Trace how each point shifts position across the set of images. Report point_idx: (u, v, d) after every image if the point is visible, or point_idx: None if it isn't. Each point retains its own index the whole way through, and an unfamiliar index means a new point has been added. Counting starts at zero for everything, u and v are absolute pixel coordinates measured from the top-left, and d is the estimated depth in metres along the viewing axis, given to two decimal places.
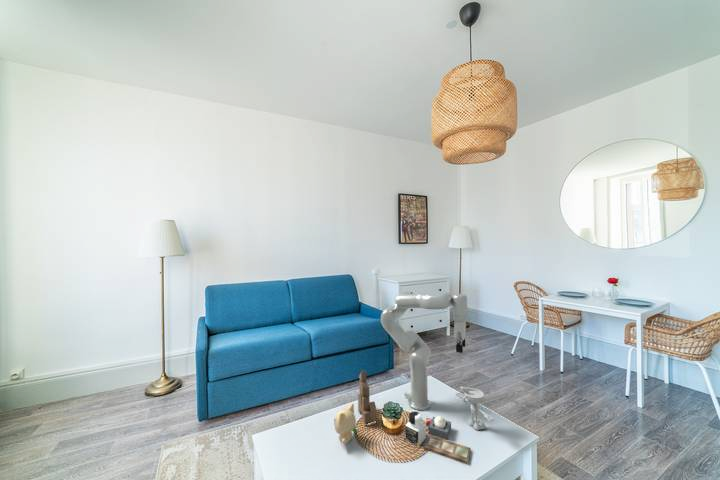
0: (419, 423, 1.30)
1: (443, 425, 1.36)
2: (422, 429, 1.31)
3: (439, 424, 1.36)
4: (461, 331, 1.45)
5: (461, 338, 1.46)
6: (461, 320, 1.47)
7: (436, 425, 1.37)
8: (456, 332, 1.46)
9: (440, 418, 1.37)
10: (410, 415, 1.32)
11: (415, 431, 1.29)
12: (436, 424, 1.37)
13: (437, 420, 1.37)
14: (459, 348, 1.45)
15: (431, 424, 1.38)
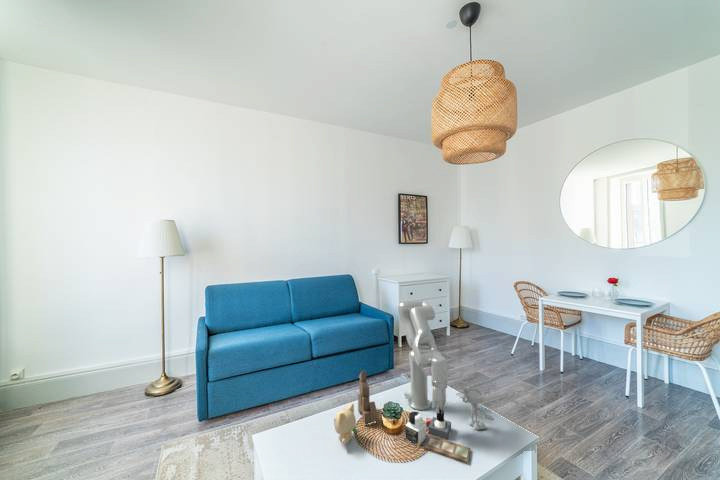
0: (419, 423, 1.30)
1: (443, 428, 1.36)
2: (422, 429, 1.31)
3: (439, 427, 1.36)
4: (440, 400, 1.33)
5: (441, 407, 1.35)
6: (440, 387, 1.35)
7: None
8: (434, 400, 1.34)
9: (440, 421, 1.37)
10: (410, 415, 1.32)
11: (415, 431, 1.29)
12: None
13: (437, 423, 1.37)
14: (440, 417, 1.36)
15: (431, 424, 1.38)
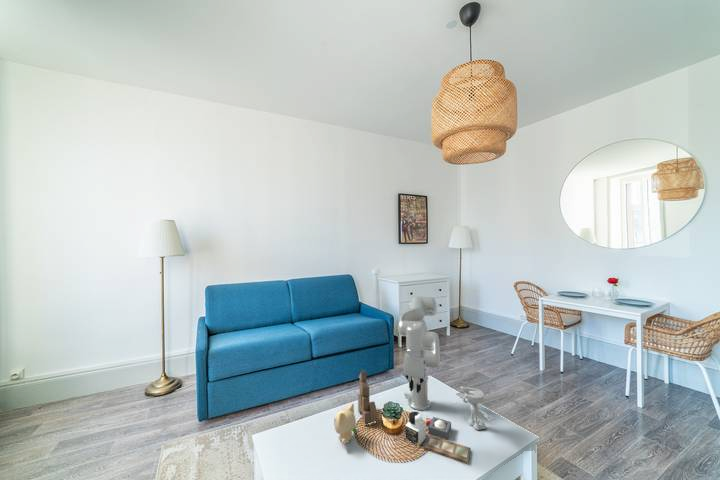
0: (419, 423, 1.30)
1: None
2: (422, 429, 1.31)
3: None
4: (404, 363, 1.35)
5: None
6: (406, 353, 1.34)
7: None
8: None
9: (440, 422, 1.37)
10: (410, 415, 1.32)
11: (415, 431, 1.29)
12: None
13: (437, 424, 1.37)
14: None
15: (431, 424, 1.38)
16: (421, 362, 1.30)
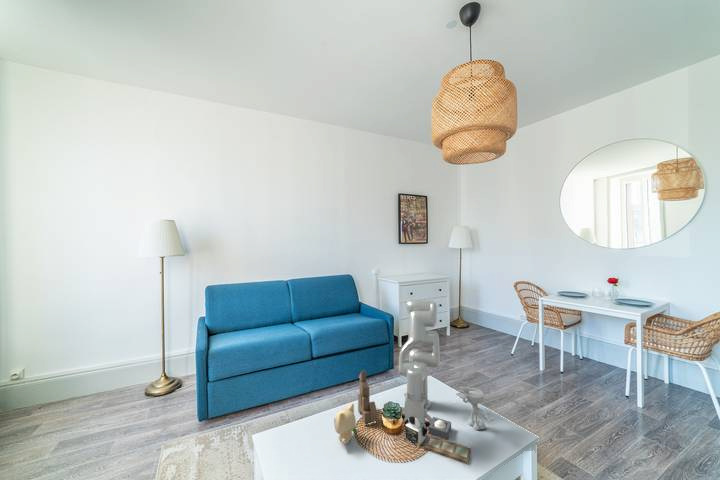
0: (419, 423, 1.30)
1: None
2: (422, 429, 1.31)
3: None
4: None
5: None
6: (407, 395, 1.34)
7: None
8: None
9: (440, 422, 1.37)
10: None
11: (415, 431, 1.29)
12: None
13: (437, 424, 1.37)
14: None
15: (431, 424, 1.38)
16: (422, 406, 1.29)
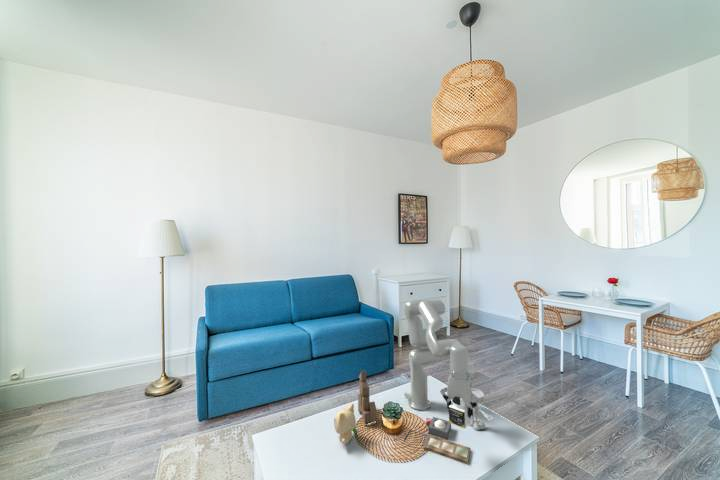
0: (464, 403, 1.21)
1: None
2: (468, 410, 1.21)
3: None
4: None
5: None
6: (450, 374, 1.24)
7: None
8: None
9: (440, 422, 1.37)
10: None
11: (461, 412, 1.19)
12: None
13: (437, 424, 1.37)
14: None
15: (431, 424, 1.38)
16: (468, 385, 1.20)
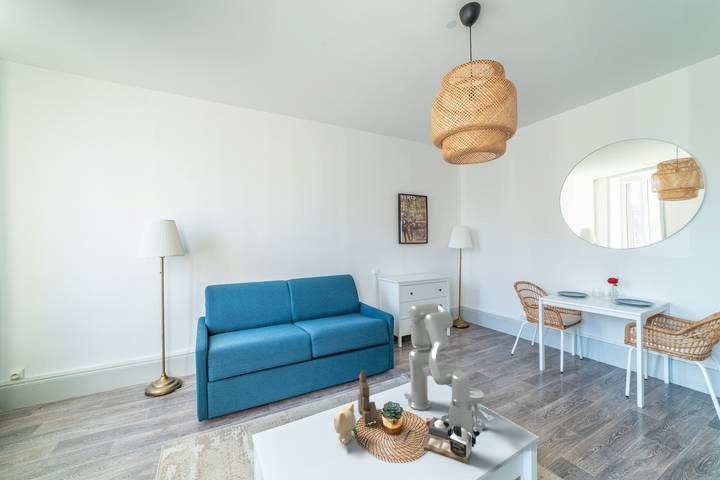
0: (466, 435, 1.20)
1: None
2: (469, 441, 1.21)
3: None
4: (449, 414, 1.24)
5: None
6: (452, 402, 1.24)
7: None
8: None
9: (440, 422, 1.37)
10: (455, 426, 1.22)
11: (462, 444, 1.18)
12: None
13: (437, 424, 1.37)
14: None
15: (431, 424, 1.38)
16: (470, 415, 1.19)
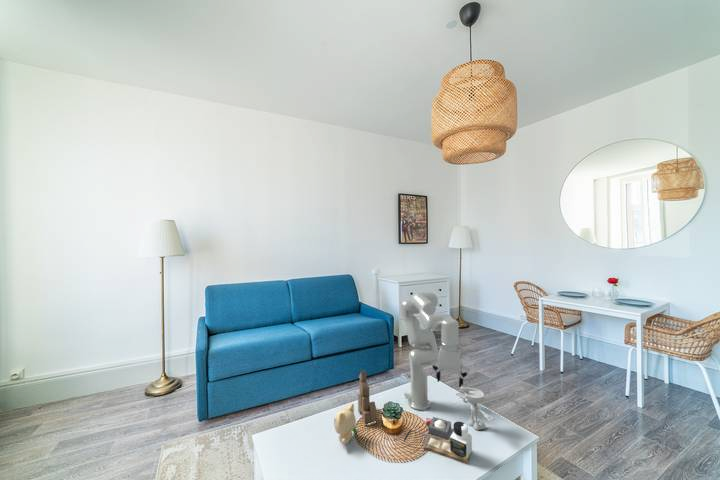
0: (466, 434, 1.20)
1: None
2: (469, 441, 1.21)
3: None
4: (438, 358, 1.29)
5: None
6: (441, 347, 1.28)
7: None
8: None
9: (440, 422, 1.37)
10: (455, 426, 1.22)
11: (462, 443, 1.19)
12: None
13: (437, 424, 1.37)
14: None
15: (431, 424, 1.38)
16: (458, 357, 1.24)
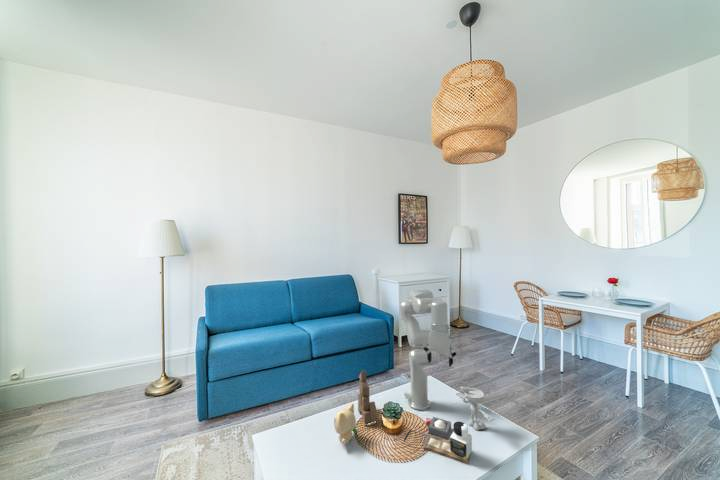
0: (466, 434, 1.20)
1: None
2: (469, 441, 1.21)
3: None
4: (428, 339, 1.34)
5: None
6: (431, 328, 1.33)
7: None
8: None
9: (440, 422, 1.37)
10: (455, 426, 1.22)
11: (462, 443, 1.19)
12: None
13: (437, 424, 1.37)
14: None
15: (431, 424, 1.38)
16: (447, 337, 1.29)
